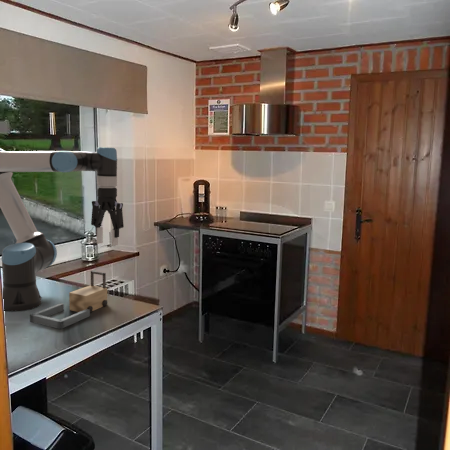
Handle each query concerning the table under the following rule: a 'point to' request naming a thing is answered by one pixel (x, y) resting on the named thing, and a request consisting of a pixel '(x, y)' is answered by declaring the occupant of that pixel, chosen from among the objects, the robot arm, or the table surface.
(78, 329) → the table surface
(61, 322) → the frame
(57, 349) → the table surface
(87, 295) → the cart
